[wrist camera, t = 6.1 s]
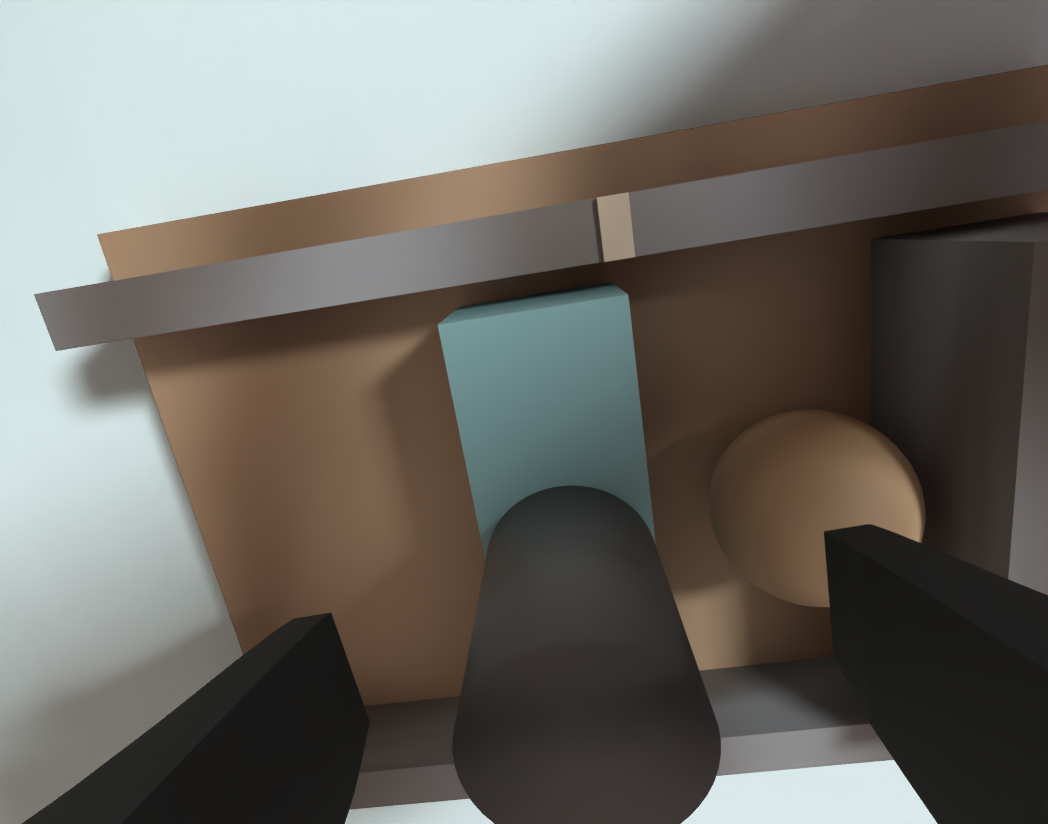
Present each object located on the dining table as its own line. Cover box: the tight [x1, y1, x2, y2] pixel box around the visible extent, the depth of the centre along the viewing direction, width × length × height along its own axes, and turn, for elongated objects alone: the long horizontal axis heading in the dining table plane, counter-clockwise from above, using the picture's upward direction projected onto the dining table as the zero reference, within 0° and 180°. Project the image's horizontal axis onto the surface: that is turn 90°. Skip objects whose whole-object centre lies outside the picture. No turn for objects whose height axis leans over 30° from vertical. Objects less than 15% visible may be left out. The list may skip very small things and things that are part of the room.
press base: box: [34, 65, 1048, 809], centre depth 12 cm, size 19×14×6 cm
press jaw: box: [438, 282, 721, 824], centre depth 10 cm, size 3×9×6 cm, turn 9°
